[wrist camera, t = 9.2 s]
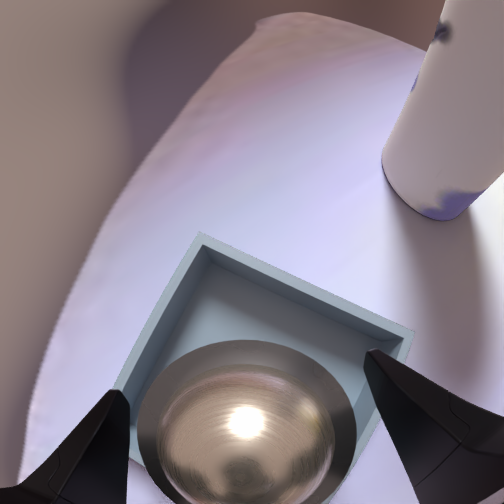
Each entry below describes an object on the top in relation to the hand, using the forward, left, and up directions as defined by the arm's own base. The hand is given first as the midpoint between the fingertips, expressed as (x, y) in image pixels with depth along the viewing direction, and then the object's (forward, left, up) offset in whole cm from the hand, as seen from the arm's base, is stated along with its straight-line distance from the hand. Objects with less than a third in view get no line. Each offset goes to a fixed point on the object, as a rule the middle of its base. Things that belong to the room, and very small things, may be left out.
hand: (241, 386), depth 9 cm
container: (+22, -8, -9) cm, 25 cm away
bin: (-1, -1, -9) cm, 9 cm away
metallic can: (-1, -1, -8) cm, 8 cm away
